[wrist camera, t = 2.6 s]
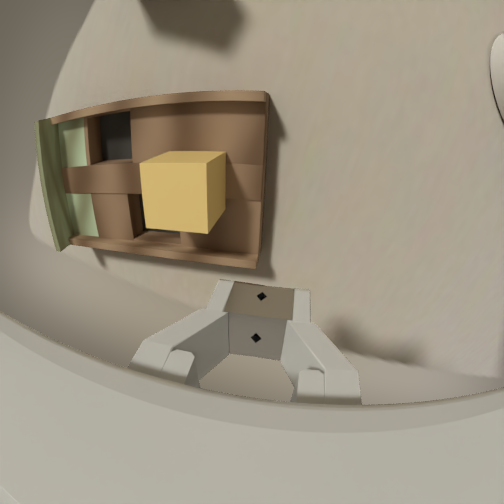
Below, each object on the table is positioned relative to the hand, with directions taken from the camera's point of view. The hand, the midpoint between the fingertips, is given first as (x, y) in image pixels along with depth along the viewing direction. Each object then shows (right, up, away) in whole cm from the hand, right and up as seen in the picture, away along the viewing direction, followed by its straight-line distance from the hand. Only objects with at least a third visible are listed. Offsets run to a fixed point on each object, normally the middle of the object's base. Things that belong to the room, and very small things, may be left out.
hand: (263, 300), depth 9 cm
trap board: (-11, +10, +16) cm, 22 cm away
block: (-5, +8, +13) cm, 16 cm away
